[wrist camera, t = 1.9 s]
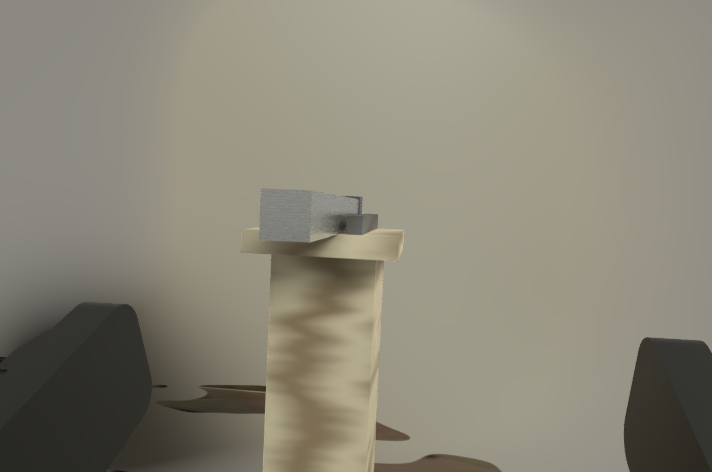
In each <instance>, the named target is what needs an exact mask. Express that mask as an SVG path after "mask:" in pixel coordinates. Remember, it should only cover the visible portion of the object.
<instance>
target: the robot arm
mask: <svg viewBox="0 0 712 472" xmlns="http://www.w3.org/2000/svg"><path fill="white" fill-rule="evenodd" d="M151 391H152V380H151V375H150V370H149V366H148V362H147V358H146V353H145V349H144V345H143V340H142V336H141V332H140V327H139V323H138V319H137V316H136V313H135V311H134V309H133V308H132V307H131V306H129V305H127V304H112V303H95V302H83V303H81V304H79V305H77V306H76V307H75V308H74V309H73V310H72V311H71V312H70V313H69V314H67V315H66V316H65V317H64V318H63V319H62V320H61V321H60V322H59V323H58V324H57V325H56V326H55V327H54V328H52V329H51V330H48V331H46V332H45V333H43V334H41V335H39V336H37V337H36V338H34V339H32V340H30V341H28V342H27V343H25V344H23V345H21V346H20V347H18V348H17V349H16V350H15V351H13V352H12V353H11V354H10V355H9V356H8V357H7V358H6V359H5V360H4V361H2V362H1V363H0V472H106V471H107V469H108V468H109V466H110V465H111V463H112V462H113V460H114V459H115V458H116V456H117V455H118V453H119V452H120V450H121V449H122V447H123V446H124V444H125V443H126V441H127V440H128V439H129V437H130V436H131V434H132V433H133V431H134V430H135V428H136V427H137V425H138V424H139V422H140V421H141V419H142V418H143V416H144V415H145V413H146V411H147V408H148V406H149V402H150V398H151ZM624 445H625V454H626V459H627V464H628V467H629V470H630V472H712V353H711V351H710V349H709V348H708V346H707V345H706V344H705V343H704V342H703V341H696V340H681V339H680V340H679V339H663V338H648V337H647V338H644V339H643V340H642V342H641V344H640V347H639V351H638V356H637V361H636V366H635V371H634V376H633V382H632V386H631V391H630V396H629V401H628V406H627V411H626V416H625V424H624Z"/></svg>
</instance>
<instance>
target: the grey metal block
mask: <svg viewBox="0 0 712 472" xmlns="http://www.w3.org/2000/svg"><path fill="white" fill-rule="evenodd" d="M358 214H362V197H353V196H338V195H333V194H327V193H322V192H316V191H306V190H305V191H304V190H284V189H261V202H260V227H259V240H268V241H287V242H306V243H310V242H314V241H317V240H320V239H324V238H327V237H330V236H334V235H337V234H340V233H344V232H346V228H347V215H358Z"/></svg>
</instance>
